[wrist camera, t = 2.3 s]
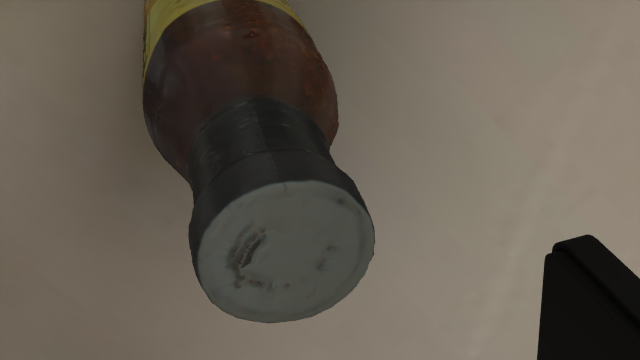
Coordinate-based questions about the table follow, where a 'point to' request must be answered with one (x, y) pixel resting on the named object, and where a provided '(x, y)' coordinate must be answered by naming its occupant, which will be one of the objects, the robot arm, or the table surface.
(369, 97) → the table surface
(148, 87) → the sauce bottle
